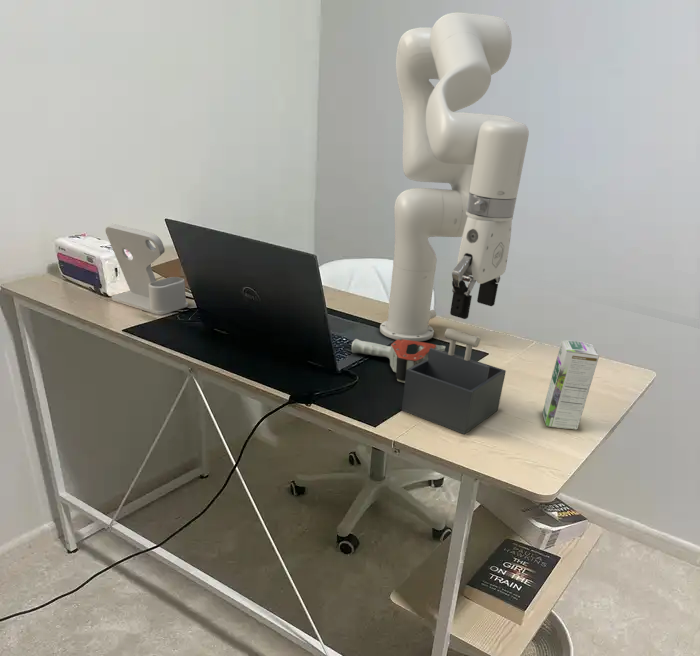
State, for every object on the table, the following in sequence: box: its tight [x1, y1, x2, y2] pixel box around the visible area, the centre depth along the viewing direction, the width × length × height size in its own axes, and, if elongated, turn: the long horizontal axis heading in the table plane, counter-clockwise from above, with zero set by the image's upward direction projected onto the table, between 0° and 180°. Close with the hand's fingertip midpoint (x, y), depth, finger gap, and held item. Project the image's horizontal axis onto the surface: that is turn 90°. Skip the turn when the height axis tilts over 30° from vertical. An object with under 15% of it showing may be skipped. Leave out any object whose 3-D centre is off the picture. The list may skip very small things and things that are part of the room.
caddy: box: [401, 327, 507, 435], centre depth 117 cm, size 13×13×15 cm
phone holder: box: [105, 223, 189, 316], centre depth 156 cm, size 17×10×18 cm, turn 59°
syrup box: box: [541, 340, 600, 430], centre depth 117 cm, size 6×6×14 cm
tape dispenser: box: [351, 338, 447, 384], centre depth 136 cm, size 18×5×20 cm
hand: (472, 310), depth 115 cm, fingers open, 9 cm apart
